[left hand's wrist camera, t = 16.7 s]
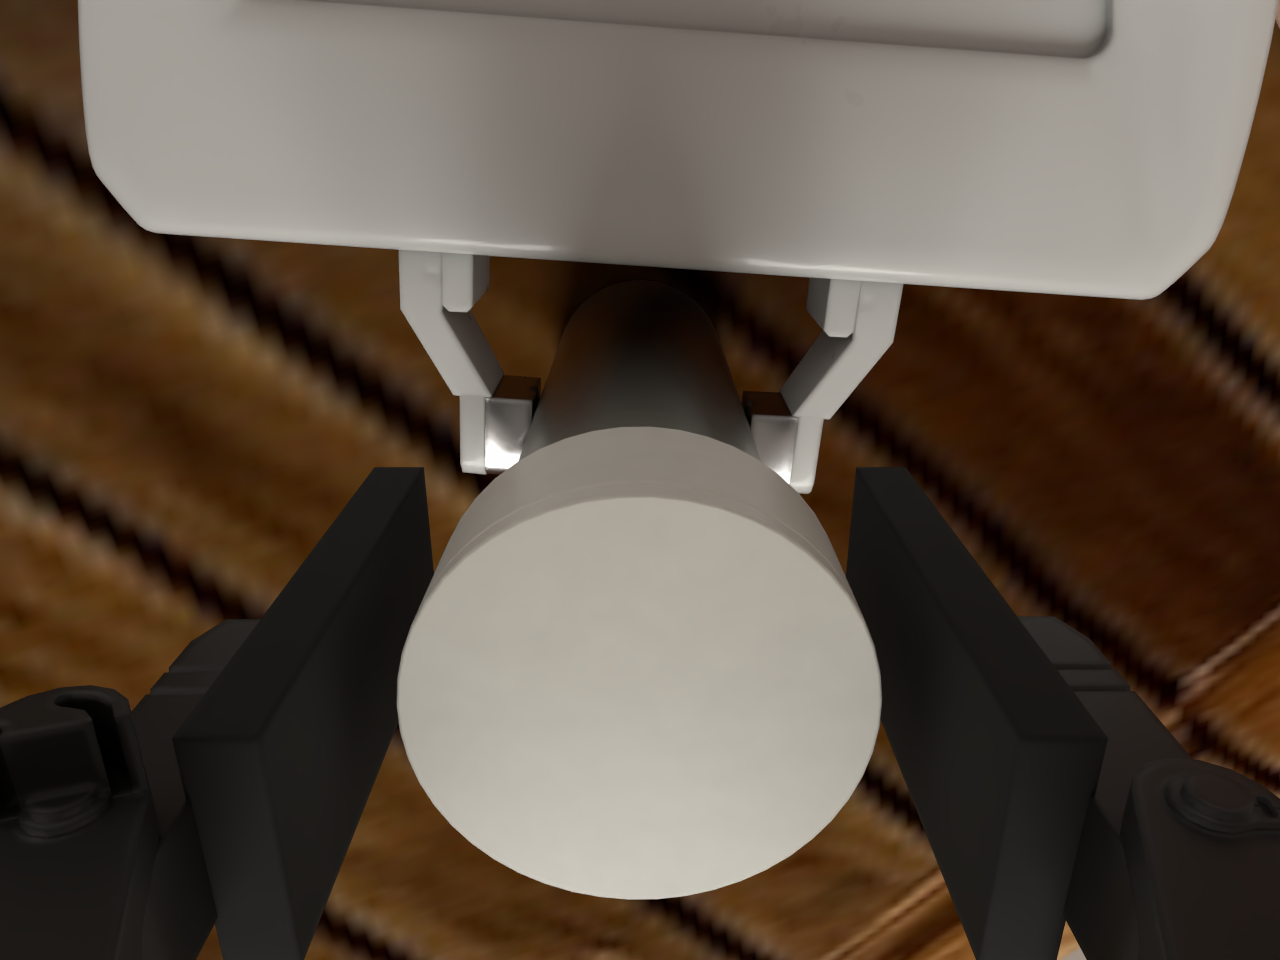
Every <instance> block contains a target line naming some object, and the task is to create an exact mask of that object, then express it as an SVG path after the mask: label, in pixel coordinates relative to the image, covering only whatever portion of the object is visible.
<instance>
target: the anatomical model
mask: <svg viewBox="0 0 1280 960" xmlns="http://www.w3.org/2000/svg"><path fill="white" fill-rule="evenodd" d="M1275 20H1276V22H1277V24H1278V26H1279V29H1280V0H1279V2H1278V8H1277V13H1276V18H1275Z"/></svg>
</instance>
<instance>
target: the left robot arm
mask: <svg viewBox="0 0 1280 960" xmlns="http://www.w3.org/2000/svg"><path fill="white" fill-rule="evenodd" d="M433 576H434V571H433V560H432V550H431V539H430V529H429V518H428V508H427V497H426V486H425V476H424V467H375V468H374V469H373V470H372V472H371V473H370V474H369V476H368V477H367V478H366V480H365V481H364V482H363V484H362V485H361V486H360V488H359V489H358V490H357V492H356V493H355V494H354V496H353V497H352V498H351V500H350V501H349V502H348V504H347V505H346V506H345V508H344V509H343V510H342V512H341V513H340V514H339V516H338V517H337V518H336V520H335V521H334V522H333V524H332V525H331V526H330V528H329V529H328V530H327V532H326V533H325V534H324V536H323V537H322V538H321V540H320V541H319V542H318V544H317V545H316V546H315V548H314V549H313V550H312V552H311V553H310V554H309V556H308V557H307V558H306V560H305V561H304V562H303V564H302V565H301V566H300V568H299V569H298V570H297V572H296V573H295V574H294V576H293V577H292V578H291V580H290V581H289V582H288V584H287V585H286V586H285V588H284V589H283V590H282V592H281V593H280V594H279V596H278V597H277V598H276V600H275V601H274V602H273V604H272V605H271V606H270V608H269V609H268V610H267V612H266V613H265V614H264V616H263V617H262V618H261V619H226V620H225V621H223V622H222V623H220V624H218V625H217V626H215V627H214V628H212V629H210V630H209V631H207V632H206V633H204V634H202V635H201V636H199V637H198V638H196V639H194V640H193V641H191V642H190V643H189V645H188V646H187V647H186V648H185V649H184V650H183V652H182V653H181V654H180V655H179V656H178V658H177V659H176V660H175V661H174V662H173V663H172V665H171V666H170V667H169V672H168V673H164V674H163V675H162V676H161V678H160V679H159V680H158V681H157V682H156V683H155V685H154V686H153V687H152V688H151V693H150V695H145V696H144V698H143V699H142V700H141V701H140V702H139V703H138V705H137V706H136V707H135V708H134V709H133V711H132V712H131V709H130V705H129V701H128V699H127V698H125V697H124V696H123V695H121V694H120V693H118V692H117V691H116V690H114V689H109V688H103V687H98V686H92V685H88V686H76V687H63V688H57V689H53V690H50V691H46V692H42V693H38V694H34V695H30V696H27V697H24V698H22V699H20V700H17V701H15V702H13V703H10V704H8V705H6V706H4V707H1V708H0V960H196V958H197V956H198V954H199V952H200V951H201V949H202V947H203V945H204V943H205V941H206V939H207V937H208V935H209V933H210V932H211V930H212V928H213V926H214V924H215V926H216V930H217V934H218V939H219V943H220V947H221V951H222V956H223V960H304V958H305V956H306V953H307V951H308V948H309V946H310V943H311V940H312V938H313V935H314V933H315V930H316V928H317V925H318V923H319V920H320V918H321V915H322V913H323V910H324V908H325V905H326V903H327V900H328V898H329V895H330V893H331V890H332V888H333V885H334V883H335V880H336V878H337V875H338V872H339V870H340V867H341V865H342V862H343V860H344V857H345V855H346V852H347V850H348V847H349V845H350V842H351V840H352V837H353V835H354V832H355V830H356V827H357V825H358V822H359V820H360V817H361V815H362V812H363V810H364V807H365V804H366V802H367V799H368V797H369V794H370V792H371V789H372V787H373V784H374V782H375V779H376V777H377V774H378V772H379V769H380V767H381V764H382V762H383V759H384V757H385V754H386V752H387V749H388V747H389V744H390V742H391V739H392V736H393V734H394V731H395V729H396V726H397V724H398V721H399V719H398V712H397V677H398V671H399V665H400V660H401V654H402V650H403V647H404V645H405V642H406V639H407V636H408V633H409V630H410V627H411V625H412V622H413V620H414V618H415V616H416V614H417V612H418V609H419V607H420V605H421V602H422V600H423V598H424V596H425V593H426V591H427V589H428V587H429V584H430V582H431V580H432V578H433ZM846 579H847V581H848V583H849V586H850V588H851V590H852V592H853V595H854V597H855V599H856V601H857V604H858V606H859V608H860V610H861V613H862V615H863V617H864V619H865V622H866V625H867V627H868V630H869V632H870V635H871V637H872V640H873V642H874V645H875V649H876V654H877V658H878V663H879V667H880V672H881V687H882V706H881V716H880V719H881V721H882V724H883V726H884V729H885V731H886V734H887V736H888V739H889V742H890V744H891V747H892V749H893V752H894V754H895V757H896V759H897V762H898V764H899V767H900V769H901V772H902V774H903V777H904V779H905V782H906V784H907V787H908V789H909V792H910V794H911V797H912V799H913V802H914V804H915V807H916V810H917V812H918V815H919V817H920V820H921V822H922V825H923V827H924V830H925V832H926V835H927V837H928V840H929V842H930V845H931V847H932V850H933V852H934V855H935V857H936V860H937V862H938V865H939V867H940V870H941V872H942V875H943V877H944V880H945V883H946V885H947V888H948V890H949V893H950V895H951V898H952V900H953V903H954V905H955V908H956V910H957V913H958V915H959V918H960V920H961V923H962V925H963V928H964V930H965V933H966V935H967V938H968V940H969V943H970V945H971V948H972V951H973V953H974V956H975V958H976V960H1057V956H1058V951H1059V947H1060V943H1061V939H1062V934H1063V930H1064V926H1065V922H1066V921H1067V923H1068V925H1069V927H1070V929H1071V931H1072V933H1073V934H1074V936H1075V938H1076V940H1077V942H1078V944H1079V946H1080V948H1081V950H1082V951H1083V953H1084V955H1085V957H1086V959H1087V960H1280V799H1279V798H1278V797H1277V796H1276V795H1274V794H1273V793H1272V792H1270V791H1269V790H1268V789H1266V788H1265V787H1264V786H1263V785H1261V784H1259V783H1257V782H1255V781H1253V780H1251V779H1249V778H1247V777H1245V776H1243V775H1241V774H1239V773H1237V772H1235V771H1233V770H1231V769H1228V768H1224V767H1221V766H1217V765H1214V764H1211V763H1207V762H1204V761H1200V760H1193V759H1192V758H1191V757H1190V755H1189V754H1188V753H1187V752H1186V751H1185V750H1184V748H1183V747H1182V746H1181V745H1180V744H1179V743H1178V741H1177V740H1176V739H1175V738H1174V737H1173V736H1172V734H1171V733H1170V732H1169V731H1168V730H1167V729H1166V727H1165V726H1164V725H1163V724H1162V723H1161V721H1160V720H1159V719H1158V718H1157V717H1156V716H1155V714H1154V713H1153V712H1152V711H1151V710H1150V709H1149V707H1148V706H1147V705H1146V704H1145V703H1144V702H1143V700H1142V699H1141V698H1140V697H1139V696H1138V695H1137V693H1136V692H1135V691H1130V685H1129V684H1128V683H1127V682H1126V681H1125V679H1124V678H1123V677H1122V676H1121V675H1120V674H1119V672H1118V671H1117V670H1112V664H1111V663H1110V662H1109V661H1108V660H1107V658H1106V657H1105V656H1104V655H1103V654H1102V653H1101V651H1100V650H1099V649H1098V648H1097V647H1096V646H1095V644H1094V643H1093V642H1092V641H1091V640H1090V639H1089V638H1088V637H1086V636H1085V635H1083V634H1081V633H1080V632H1078V631H1077V630H1075V629H1073V628H1072V627H1070V626H1068V625H1067V624H1065V623H1064V622H1062V621H1060V620H1059V619H1057V618H1056V617H1017V616H1016V614H1015V613H1014V612H1013V610H1012V609H1011V608H1010V606H1009V605H1008V604H1007V602H1006V601H1005V600H1004V598H1003V597H1002V596H1001V594H1000V593H999V592H998V590H997V589H996V588H995V586H994V585H993V584H992V582H991V581H990V580H989V578H988V577H987V576H986V574H985V573H984V572H983V570H982V569H981V568H980V566H979V565H978V564H977V562H976V561H975V560H974V558H973V557H972V556H971V554H970V553H969V552H968V550H967V549H966V548H965V546H964V545H963V544H962V542H961V541H960V540H959V538H958V537H957V536H956V534H955V533H954V532H953V530H952V529H951V528H950V526H949V525H948V524H947V522H946V521H945V520H944V518H943V517H942V516H941V514H940V513H939V512H938V510H937V509H936V508H935V506H934V505H933V504H932V502H931V501H930V500H929V498H928V497H927V496H926V494H925V493H924V492H923V490H922V489H921V488H920V486H919V485H918V484H917V482H916V481H915V480H914V478H913V477H912V476H911V474H910V473H909V472H908V470H907V469H906V468H905V467H856V476H855V487H854V497H853V508H852V518H851V529H850V539H849V550H848V560H847V571H846Z"/></svg>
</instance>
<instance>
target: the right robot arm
mask: <svg viewBox="0 0 1280 960" xmlns="http://www.w3.org/2000/svg"><path fill="white" fill-rule="evenodd" d="M1278 2H1279V0H78V20H79V48H80V65H81V82H82V95H83V106H84V118H85V129H86V136H87V143H88V150H89V155H90V158H91V162H92V166H93V169H94V171H95V173H96V175H97V176H98V177H99V179H100V180H101V181H102V182H103V184H104V185H105V186H106V187H107V189H108V190H109V191H110V192H111V193H112V195H113V196H114V197H115V198H116V199H117V201H118V202H119V203H120V204H121V206H122V207H123V208H124V209H125V210H126V211H127V212H128V214H129V215H130V216H131V217H132V218H133V219H134V220H135V221H136V222H137V223H138V225H140V226H141V227H143V228H144V229H145V230H148V231H151V232H155V233H164V234H176V235H191V236H206V237H220V238H235V239H250V240H265V241H280V242H294V243H309V244H324V245H339V246H354V247H368V248H383V249H398V250H399V275H400V307H401V311H402V312H403V314H404V315H405V317H406V319H407V320H408V322H409V324H410V325H411V327H412V328H413V330H414V332H415V333H416V335H417V337H418V338H419V340H420V341H421V343H422V345H423V346H424V348H425V350H426V351H427V353H428V354H429V356H430V358H431V359H432V361H433V363H434V364H435V366H436V367H437V369H438V371H439V372H440V374H441V376H442V377H443V379H444V380H445V382H446V384H447V385H448V387H449V389H450V390H451V392H452V393H453V395H458V396H460V463H461V467H462V471H463V472H468V473H478V474H487V473H488V474H502V473H503V472H504V471H506V470H507V469H508V468H510V467H511V466H512V465H514V464H515V463H516V462H518V460H519V457H520V454H521V452H522V449H523V446H524V443H525V440H526V437H527V435H528V432H529V429H530V426H531V423H532V420H533V417H534V415H535V412H536V409H537V406H538V403H539V400H540V393H541V378H534V377H523V376H511V375H503V374H504V372H503V370H502V368H501V366H500V364H499V363H498V361H497V359H496V357H495V355H494V353H493V351H492V349H491V348H490V346H489V344H488V342H487V340H486V338H485V336H484V334H483V333H482V331H481V329H480V327H479V325H478V323H477V321H476V319H475V318H474V316H473V314H472V312H471V310H470V309H471V308H472V307H473V306H474V304H475V303H476V302H477V301H478V300H479V299H480V298H481V297H482V296H483V294H484V293H485V292H486V291H487V290H488V289H489V270H490V256H501V257H516V258H531V259H546V260H561V261H575V262H590V263H605V264H620V265H634V266H649V267H664V268H679V269H694V270H708V271H723V272H738V273H753V274H768V275H782V276H797V277H810V279H809V287H808V296H807V304H806V310H807V311H808V312H809V314H810V315H811V316H812V317H813V318H814V320H815V321H816V322H817V323H818V324H819V325H820V327H821V328H822V329H823V331H822V332H821V334H820V335H819V337H818V338H817V339H816V341H815V342H814V344H813V345H812V346H811V348H810V349H809V351H808V352H807V353H806V355H805V356H804V357H803V359H802V360H801V362H800V363H799V364H798V366H797V367H796V369H795V370H794V371H793V373H792V374H791V375H790V377H789V378H788V380H787V381H786V382H785V384H784V385H783V387H782V388H781V389H780V392H781V393H776V392H752V391H743V397H742V407H743V410H744V413H745V416H746V418H747V421H748V424H749V427H750V430H751V433H752V436H753V439H754V441H755V444H756V447H757V450H758V453H759V456H760V459H761V462H762V463H763V464H765V465H766V466H768V467H769V468H770V469H772V470H773V471H774V472H776V473H777V474H779V475H780V476H781V477H782V478H783V479H784V480H785V481H786V482H787V483H788V484H789V485H790V486H791V487H793V488H794V489H795V490H796V491H797V492H798V493H805V494H808V493H810V492H811V490H812V487H813V484H814V479H815V473H816V466H817V459H818V453H819V446H820V439H821V433H822V426H823V419H830V418H831V417H832V416H833V415H834V413H835V412H836V411H837V410H838V409H839V407H840V406H841V405H842V404H843V402H844V401H845V400H846V399H847V398H848V396H849V395H850V394H851V393H852V392H853V390H854V389H855V388H856V387H857V385H858V384H859V383H860V382H861V381H862V379H863V378H864V377H865V376H866V375H867V373H868V372H869V371H870V370H871V368H872V367H873V366H874V365H875V364H876V362H877V361H878V360H879V359H880V358H881V356H882V355H883V354H884V353H885V351H886V350H887V349H888V348H889V347H890V345H891V344H892V343H893V339H894V334H895V328H896V323H897V317H898V311H899V306H900V300H901V295H902V289H903V284H915V285H930V286H945V287H960V288H975V289H989V290H1004V291H1019V292H1034V293H1048V294H1063V295H1078V296H1093V297H1108V298H1123V299H1139V300H1144V299H1150V298H1154V297H1156V296H1158V295H1159V294H1161V293H1162V292H1163V291H1164V290H1166V289H1167V288H1168V287H1169V286H1170V285H1172V284H1173V283H1174V282H1175V281H1176V280H1177V279H1178V278H1180V277H1181V276H1182V275H1183V274H1184V273H1185V272H1186V271H1187V270H1188V269H1189V268H1190V267H1191V266H1193V265H1194V264H1195V263H1196V262H1197V261H1198V260H1199V259H1200V258H1201V257H1202V256H1203V255H1204V254H1205V253H1206V252H1207V251H1208V250H1209V249H1210V247H1211V246H1212V244H1213V243H1214V242H1215V240H1216V238H1217V235H1218V233H1219V231H1220V229H1221V227H1222V225H1223V222H1224V219H1225V216H1226V213H1227V211H1228V208H1229V205H1230V202H1231V199H1232V196H1233V193H1234V189H1235V186H1236V182H1237V179H1238V175H1239V171H1240V168H1241V164H1242V161H1243V157H1244V153H1245V150H1246V146H1247V143H1248V139H1249V135H1250V131H1251V127H1252V123H1253V119H1254V115H1255V111H1256V107H1257V103H1258V99H1259V94H1260V90H1261V85H1262V81H1263V76H1264V72H1265V67H1266V63H1267V58H1268V54H1269V49H1270V45H1271V40H1272V34H1273V29H1274V24H1275V18H1276V13H1277V8H1278Z"/></svg>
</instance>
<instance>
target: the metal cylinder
mask: <svg viewBox="0 0 1280 960" xmlns="http://www.w3.org/2000/svg"><path fill="white" fill-rule="evenodd" d="M618 427H658V428H668V429H677V430H682V431H686V432H691V433H695V434H699V435H703V436H707V437H710V438H712V439H715V440H718V441H720V442H723V443H726V444H728V445H731V446H734V447H735V448H737V449H739V450H741V451H743V452H745V453H747V454H748V455H750V456H752V457H754V458H756V459H758V460H759V461H761V459H760V456H759V453H758V450H757V447H756V444H755V441H754V439H753V436H752V433H751V430H750V427H749V424H748V421H747V418H746V416H745V413H744V410H743V407H742V404H741V401H740V398H739V395H738V393H737V390H736V387H735V384H734V381H733V378H732V375H731V372H730V370H729V367H728V364H727V361H726V358H725V355H724V352H723V349H722V347H721V344H720V341H719V338H718V335H717V333H716V330H715V328H714V325H713V323H712V322H711V320H710V318H709V317H708V315H707V314H706V313H705V311H704V310H703V309H702V307H701V306H700V305H699V304H698V303H697V302H695V301H694V300H693V299H692V298H691V297H689V296H688V295H687V294H685V293H684V292H682V291H680V290H678V289H676V288H674V287H672V286H669V285H667V284H664V283H660V282H655V281H648V280H631V281H625V282H620V283H617V284H613V285H610V286H608V287H606V288H603V289H601V290H600V291H598V292H596V293H595V294H593V295H592V296H590V297H589V298H588V299H587V300H585V301H584V302H583V303H582V304H581V305H580V306H579V307H578V309H577V310H576V311H575V312H574V314H573V315H572V317H571V318H570V320H569V321H568V323H567V325H566V327H565V329H564V332H563V335H562V338H561V341H560V343H559V346H558V349H557V352H556V355H555V358H554V361H553V363H552V366H551V369H550V372H549V375H548V378H547V380H546V383H545V386H544V389H543V392H542V395H541V398H540V400H539V403H538V406H537V409H536V412H535V415H534V417H533V420H532V423H531V426H530V429H529V432H528V435H527V437H526V440H525V443H524V446H523V449H522V452H521V454H520V457H519V460H518V461H520V460H522V459H523V458H525V457H527V456H529V455H530V454H532V453H534V452H535V451H537V450H539V449H541V448H544V447H546V446H548V445H551V444H553V443H556V442H558V441H560V440H563V439H565V438H569V437H573V436H576V435H580V434H584V433H587V432H591V431H597V430H604V429H611V428H618Z"/></svg>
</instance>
